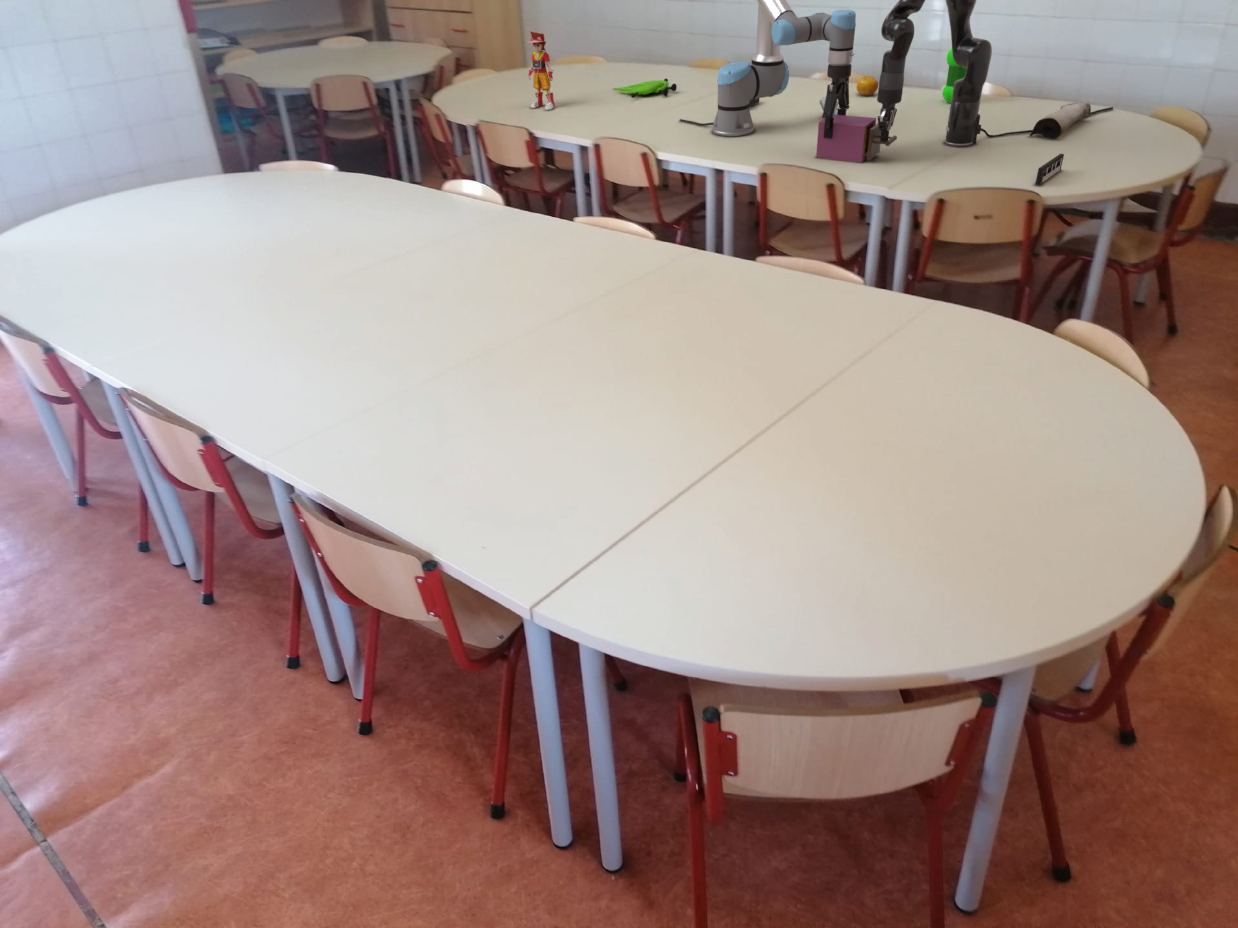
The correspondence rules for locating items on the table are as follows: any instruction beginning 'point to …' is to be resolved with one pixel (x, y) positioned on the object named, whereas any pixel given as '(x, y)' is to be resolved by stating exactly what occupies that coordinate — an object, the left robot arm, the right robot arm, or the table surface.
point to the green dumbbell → (952, 76)
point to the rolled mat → (1061, 120)
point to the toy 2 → (648, 88)
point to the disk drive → (753, 102)
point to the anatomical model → (822, 103)
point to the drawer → (874, 141)
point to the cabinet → (844, 138)
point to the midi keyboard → (1049, 169)
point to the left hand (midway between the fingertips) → (834, 133)
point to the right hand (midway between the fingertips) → (884, 142)
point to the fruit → (867, 85)
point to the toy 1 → (541, 71)
